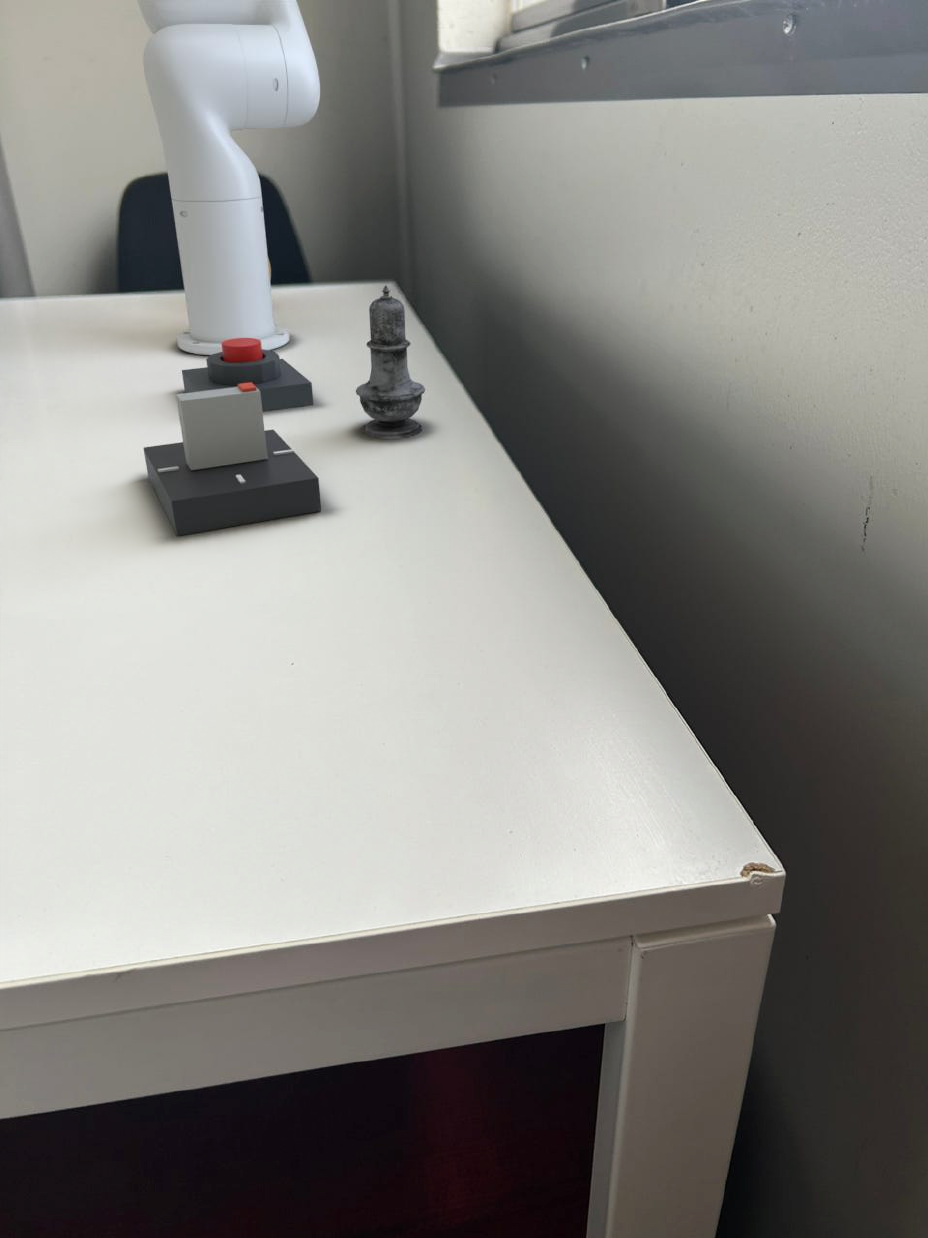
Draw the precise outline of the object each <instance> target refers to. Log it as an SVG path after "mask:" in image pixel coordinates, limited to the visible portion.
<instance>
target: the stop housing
mask: <svg viewBox="0 0 928 1238" xmlns="http://www.w3.org/2000/svg"><path fill="white" fill-rule="evenodd" d="M262 356H263V359H261V360H257V361H253V362H244V363H230V362H225V361H224V360H223V352H219V353H216V354H212V355H209V356H208V357H207V358H206V359H205V361H206V366H205V367H197V368H188V369H181V375H182V382H183V389H184V393H192V392H200V391H208V390H216V389H224V388H233V387H238V384H241V383H250V382H252V383H253V384H254V385H255V386H256V388H257V389H258V390H259V391H260V394H261V403H262V412H263V413H266V412H273V411H274V412H275V411H281V410H289V409H297V408H303V407H311V406H314V395H313V383H312V381H310V380H309V379H308V378H307V377H306V376H304V375H303V374H302V373H301V372H299V371H298V370H297V369H296V368H295V367H293V366H292V364H290V363H289V362H287V361H286V360H285V359H284V358H280V355H279V354H278V353H277V352H276V351H273V350H264V349H262Z"/></svg>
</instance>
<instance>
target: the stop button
mask: <svg viewBox="0 0 928 1238" xmlns="http://www.w3.org/2000/svg"><path fill="white" fill-rule="evenodd" d="M222 352H223V360H224V361H225V362H230V363H244V362H253V361H257V360H261V359H263V356H262V347H261V341H260V340H259V339H255V338H235V339H229V340H226V341H224V342H222Z"/></svg>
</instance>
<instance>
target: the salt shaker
mask: <svg viewBox="0 0 928 1238" xmlns="http://www.w3.org/2000/svg"><path fill="white" fill-rule="evenodd" d="M381 292H382V293H383V295H381V296H380V297H379V298H376V299H374V300H373V301H372V302H371V304H370V305H369V309H368V311H369V312H368V313H369V314H368V315H369V330H370V331H369V332H370V339H369V341H367V343H366V347H367V348H369V349H370V350H369V351H370V363H371V364H370V366H371V369H370V375H369V380H368V381H367V382H365V383H362V384H360V385H359V386H357V387H356V389H355V394H356V395H357V396H358V397H359V402H360V405H361V407H362V409H363V411H364V413H365V414H366V415H368V416H369V417H370V418H371V420H370V421H368V422H367V423H366V424H365V425H363V426H362V428H361V432H362V434H363V435H365V436H367V437H370V438H373V439H380V440H381V439H382V440H397V439H399V440H400V439H407V438H410V437H415V436H417V435H419V434H420V433H422V431H423V429H424V426H423V425H421V424H420V423H419V422H417V420H414V419H412V417H413V416H414V415H415V414H416V413H417V412H418V410H419V409H420V406H421V403H422V400H423V397H422V395H423V394H425V391H426V388H425V386H424V385H423V384H422V383H419V382H416V381H414V380H412V378H411V376H410V373H409V372H410V371H409V367H408V348H409V347H410V346H411V342H410V341H409V340H408V339H406V318H405V317H406V316H405V315H406V314H405V313H406V311H405V306H404V304H403V303H402V301H401V300H399V299H397V298H395V297H393V296H392V295H390V292H391V290H390V289H389V287H388V286H387V285H384V287H383V288H382V289H381Z"/></svg>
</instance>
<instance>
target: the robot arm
mask: <svg viewBox="0 0 928 1238" xmlns="http://www.w3.org/2000/svg"><path fill="white" fill-rule="evenodd" d="M137 5H138V6H139V9H140V12H141V14H142V17H143V19H144V22H145V24H146V27H148V29H149V31H150V32H151V33H152V35H151V36H150V37H149V39H148V40H147V42H146V44H145V47H144V50H143V56H142V57H143V58H142V62H143V63H142V64H143V71H144V77H145V81H146V86H147V91H148V94H149V97H150V102H151V105H152V107H153V111H154V115H155V119H156V122H157V126H158V130H159V135H160V139H161V144H162V148H163V154H164V158H165V164H166V165H165V166H166V170H167V171H166V172H167V177H168V183H169V191H170V198H171V204H172V211H173V220H174V223H175V224H174V226H175V232H176V240H177V247H178V254H179V255H178V256H179V260H180V267H181V275H182V282H183V290H184V298H185V304H186V310H187V311H186V312H187V319H188V325H189V329H186V330H184V331H182V332H180V333H179V334H178V335H177V337H176V341H177V342H176V343H177V347H178V348H179V349H180V350H182V351H184V352H186V353H190V354H195V355H202V356H211V355H212V354H216V353H219V352H222V342H224V341H226V340H229V339H235V338H255V339H259V340H260V341H261V347H262V349H264V350H269V351H273V350H275V349H279V348H281V347H283V346H285V345H286V344H288V343H289V342H290V332H289V330H288V328H286V327H285V326H282V325H280V324H275V316H274V306H273V305H274V304H273V294H272V283H271V280H270V274H269V264H268V258H269V255H268V245H267V237H266V236H267V235H266V225H265V214H264V206H263V195H262V186H261V180H260V177H259V172H258V171H257V168H256V166H255V165H254V164H253V162H252V160H251V159H250V157H249V156H248V155H247V154H246V153H245V152H244V151H243V149H242V148H241V147H240V145H238V144H237V143H236V141H235V140H234V138H233V137H232V136H231V132H234V131H242V130H264V129H266V130H267V129H289V128H296V127H297V128H298V127H301V126H303V125H305V124H308V123H309V122H310V121H312V119H313V118H314V117H315V115H316V113H317V110H318V108H319V105H320V99H321V81H320V74H319V69H318V64H317V60H316V56H315V52H314V50H313V46H312V42H311V40H310V37H309V34H308V31H307V28H306V25H305V22H304V19H303V16H302V13H301V10H300V6H299V4H298V1H297V0H137Z"/></svg>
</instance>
